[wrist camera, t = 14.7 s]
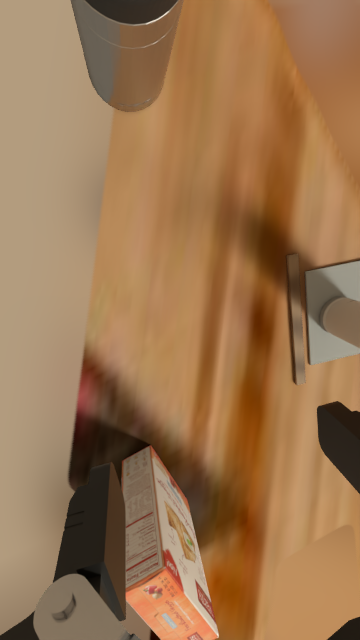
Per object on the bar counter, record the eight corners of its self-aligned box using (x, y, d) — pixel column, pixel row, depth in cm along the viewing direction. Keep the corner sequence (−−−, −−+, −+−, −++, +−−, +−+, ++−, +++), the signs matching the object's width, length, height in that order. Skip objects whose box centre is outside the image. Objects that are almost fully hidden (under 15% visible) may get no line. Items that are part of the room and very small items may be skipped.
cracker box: (189, 497, 57) (222, 639, 37) (159, 513, 57) (177, 664, 37) (152, 441, 52) (167, 569, 33) (120, 459, 52) (116, 598, 32)
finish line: (286, 255, 47) (288, 255, 47) (296, 253, 48) (298, 253, 47) (295, 383, 54) (296, 385, 53) (303, 381, 54) (305, 383, 53)
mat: (304, 271, 49) (305, 271, 48) (363, 259, 50) (365, 259, 49) (309, 364, 53) (310, 365, 53) (363, 351, 54) (364, 352, 54)
